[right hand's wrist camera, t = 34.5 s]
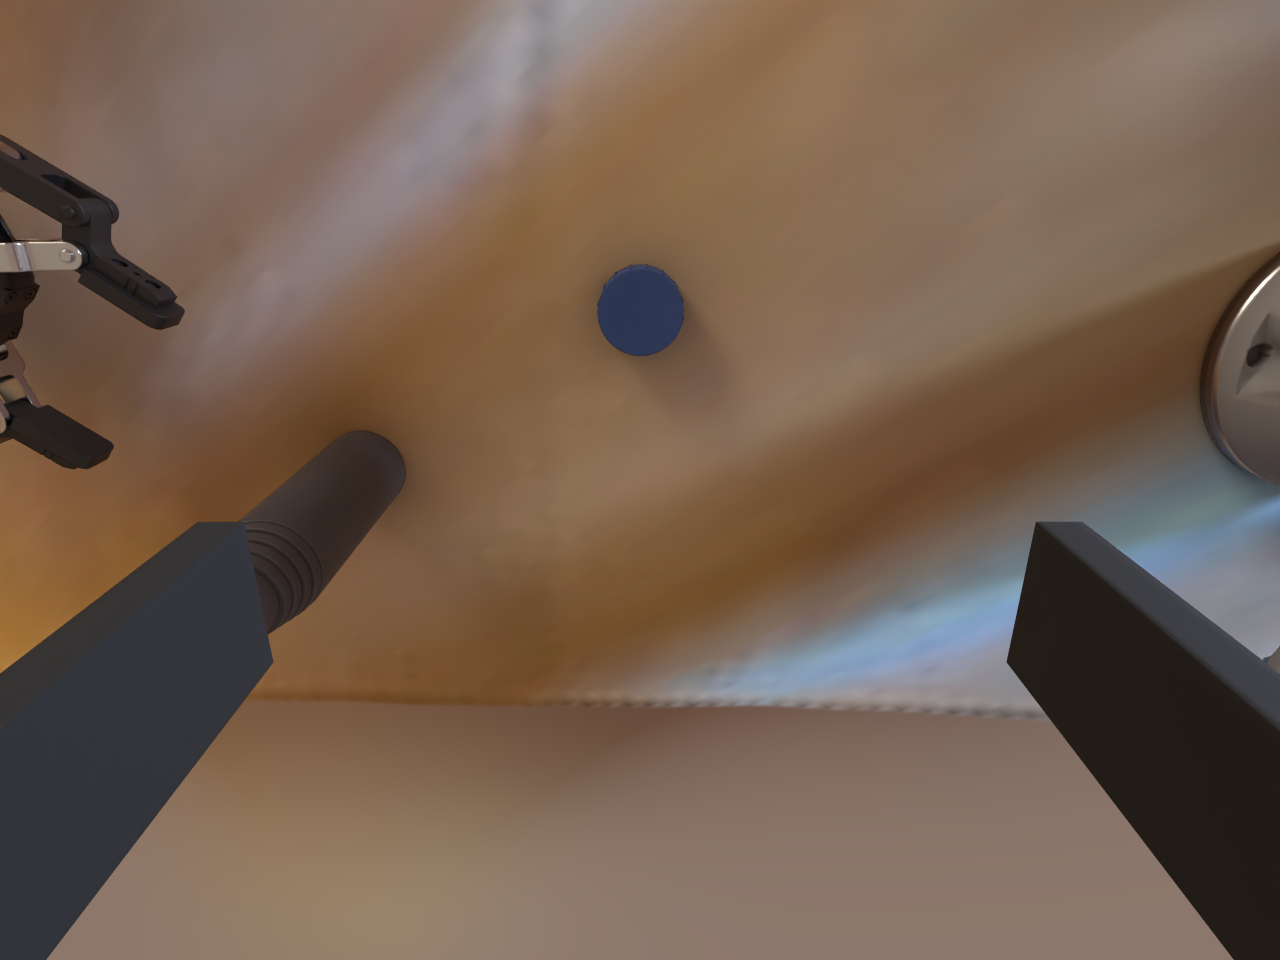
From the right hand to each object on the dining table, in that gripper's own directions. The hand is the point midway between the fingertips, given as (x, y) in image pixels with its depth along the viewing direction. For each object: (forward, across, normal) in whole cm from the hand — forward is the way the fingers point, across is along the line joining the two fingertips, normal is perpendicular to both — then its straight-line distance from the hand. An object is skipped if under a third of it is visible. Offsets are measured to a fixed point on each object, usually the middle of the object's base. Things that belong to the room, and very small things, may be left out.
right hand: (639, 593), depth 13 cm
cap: (+29, 0, 0) cm, 29 cm away
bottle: (+31, +16, +10) cm, 37 cm away
